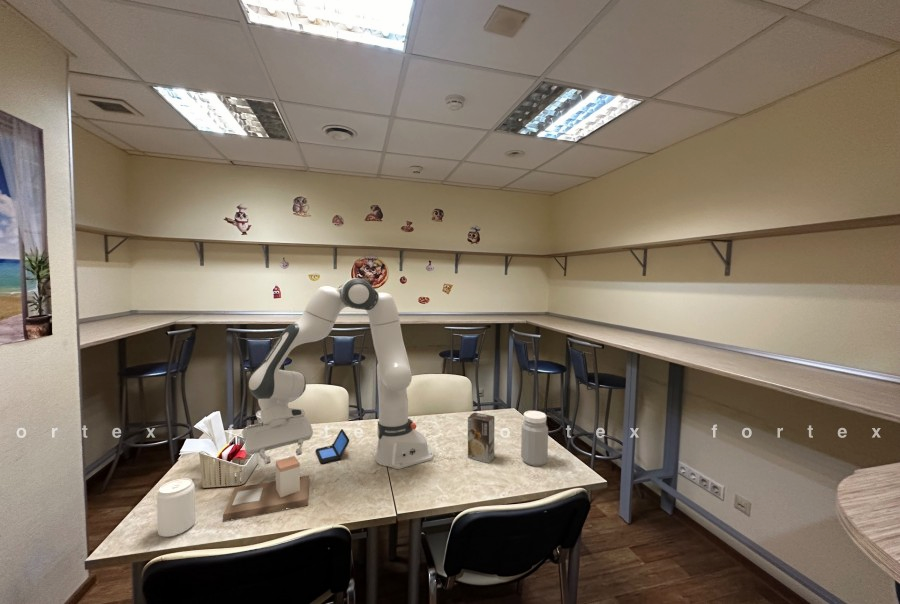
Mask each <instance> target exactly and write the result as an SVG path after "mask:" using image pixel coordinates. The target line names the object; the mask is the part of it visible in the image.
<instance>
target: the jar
mask: <svg viewBox="0 0 900 604" xmlns="http://www.w3.org/2000/svg"><path fill="white" fill-rule="evenodd" d="M520 434H521V436H520V437H521V440H520V441H521V442H520V443H521V446H520V447H521V448H520V449H521V451H520V457H521V459H522V460H523V462H524V463H525V464H527V465H529V466H533V467H541V466H543V465H545V464H546V463H547V461H548V457H549V456H548V453H549V452H548V449H549V447H548V446H549V427H548V425H547V414H546V413H545V412H542V411H540V410H539V411H538V410H527V411H525V412H523V423H522V424H521V433H520Z"/></svg>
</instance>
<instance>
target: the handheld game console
mask: <svg viewBox="0 0 900 604" xmlns="http://www.w3.org/2000/svg"><path fill="white" fill-rule="evenodd" d="M349 443H350V439H349V436H348V435H347V434H346V432H345V430H344V429H343V428H341V429H340V430H339V432H338V434H337V436H336V438H335V439H334V441H333V443H332V444H331V445H328V446H324V447H318V448H316V449H315V453H316V456H317V459H318V461H319V463H320V465H326V463H327V464H330V463H334V462H338V461H341V460H342V456H343V454H344V452H345V450H346V449H347V447H348V445H349Z"/></svg>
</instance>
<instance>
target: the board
mask: <svg viewBox="0 0 900 604" xmlns="http://www.w3.org/2000/svg"><path fill="white" fill-rule="evenodd" d="M309 491H310V474H309V475H302V476H300V491H298V492H295V493H292V494H289V495H286V496H284V497H280V495H279V494H278V492H277V490H276V480H273V481H266V482H260V483H253V484H249V485H248V484H247V485H241V486H236V487H234V488H233V490H232V493H231V495H230V498H229V499H228V502H227V505H226V507H225V509H224V511H223V514H222V522H228V521H231V519H234V520H238V519H237V518H239V519H243V517H244V518H249V517H254V516H253V515H255V516H259V514H260V515H265V514H269V512H270V513H274V512H273V511H276V512H279V511H278V510H281V511H283V510H282V509H286V508H291V509H295V508H294V507H297V508H301V507H300V506H302V507H307V506H308V505H309V494H310V493H309ZM306 505H307V506H306ZM286 510H287V509H286ZM264 513H265V514H264ZM248 516H249V517H248ZM227 520H228V521H227Z"/></svg>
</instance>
